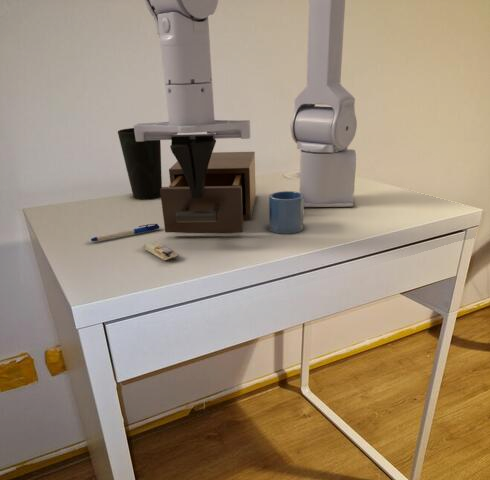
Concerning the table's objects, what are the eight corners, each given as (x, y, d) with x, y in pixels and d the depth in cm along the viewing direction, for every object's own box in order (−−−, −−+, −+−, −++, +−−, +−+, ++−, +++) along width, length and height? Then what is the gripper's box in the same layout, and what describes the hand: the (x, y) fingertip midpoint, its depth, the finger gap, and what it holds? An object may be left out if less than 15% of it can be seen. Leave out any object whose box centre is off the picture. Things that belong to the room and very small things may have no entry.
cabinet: (250, 219, 75) (249, 167, 71) (174, 220, 76) (168, 169, 72) (255, 196, 88) (254, 151, 84) (190, 197, 89) (186, 153, 85)
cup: (171, 190, 94) (164, 126, 88) (161, 200, 88) (153, 132, 82) (134, 191, 95) (125, 127, 89) (122, 201, 88) (111, 133, 82)
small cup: (302, 223, 73) (303, 190, 71) (303, 233, 68) (304, 199, 66) (269, 223, 73) (269, 191, 71) (268, 234, 69) (268, 200, 66)
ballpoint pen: (158, 228, 73) (157, 221, 72) (160, 229, 72) (159, 223, 72) (91, 241, 68) (90, 235, 68) (93, 243, 67) (91, 236, 67)
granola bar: (141, 249, 65) (140, 242, 64) (156, 245, 66) (155, 238, 65) (164, 263, 60) (163, 255, 59) (180, 258, 61) (179, 251, 60)
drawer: (239, 243, 63) (237, 196, 60) (157, 244, 64) (151, 198, 61) (248, 206, 79) (247, 168, 76) (182, 207, 80) (178, 169, 77)
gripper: (120, 87, 53) (137, 205, 60) (246, 82, 52) (249, 203, 59) (136, 84, 59) (151, 191, 66) (250, 80, 58) (252, 189, 65)
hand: (198, 196), depth 63 cm, fingers closed
